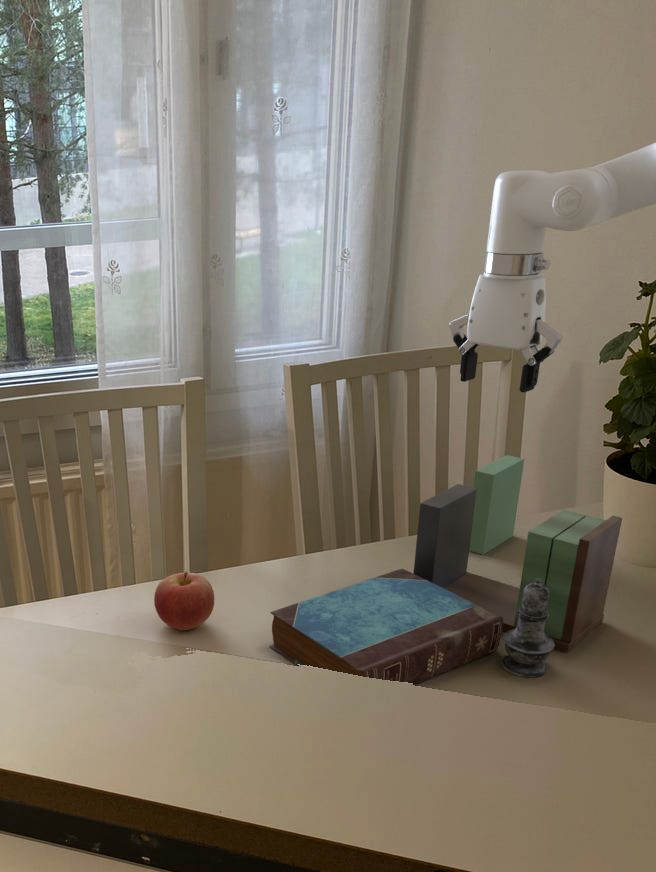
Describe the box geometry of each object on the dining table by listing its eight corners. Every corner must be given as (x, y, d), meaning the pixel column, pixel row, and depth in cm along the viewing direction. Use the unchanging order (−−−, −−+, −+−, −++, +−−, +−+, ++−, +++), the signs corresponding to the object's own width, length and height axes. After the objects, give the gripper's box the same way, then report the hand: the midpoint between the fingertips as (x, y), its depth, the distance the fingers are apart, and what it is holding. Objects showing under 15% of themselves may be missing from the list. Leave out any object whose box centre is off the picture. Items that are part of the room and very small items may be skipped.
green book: (495, 531, 149) (506, 454, 143) (513, 536, 147) (524, 458, 141) (465, 549, 142) (475, 470, 137) (483, 555, 140) (493, 474, 135)
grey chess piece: (528, 650, 114) (543, 563, 109) (560, 673, 109) (577, 583, 104) (488, 658, 112) (501, 571, 107) (519, 682, 107) (534, 591, 102)
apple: (225, 631, 120) (225, 577, 117) (169, 644, 118) (167, 588, 114) (200, 606, 127) (199, 554, 124) (147, 617, 124) (145, 564, 121)
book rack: (439, 570, 136) (450, 475, 129) (602, 622, 120) (624, 516, 114) (399, 595, 129) (408, 495, 122) (567, 653, 113) (587, 542, 107)
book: (362, 709, 103) (365, 672, 101) (267, 645, 117) (268, 611, 115) (499, 652, 114) (504, 617, 112) (397, 599, 127) (400, 567, 125)
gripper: (584, 267, 126) (563, 390, 133) (471, 258, 137) (458, 372, 145) (558, 273, 121) (538, 400, 129) (444, 263, 133) (432, 380, 140)
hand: (496, 385), depth 137 cm, fingers open, 9 cm apart
